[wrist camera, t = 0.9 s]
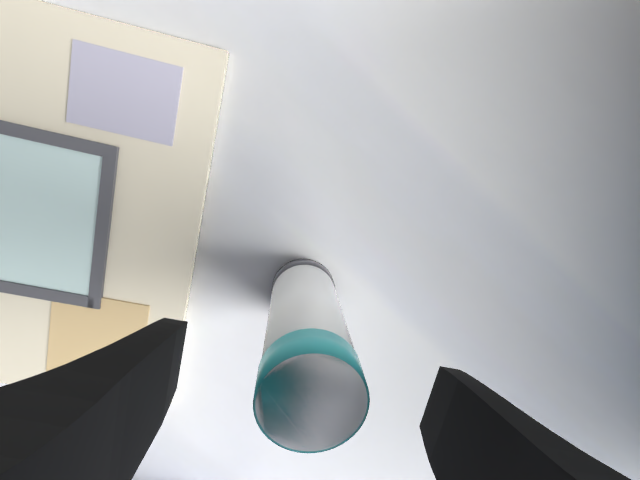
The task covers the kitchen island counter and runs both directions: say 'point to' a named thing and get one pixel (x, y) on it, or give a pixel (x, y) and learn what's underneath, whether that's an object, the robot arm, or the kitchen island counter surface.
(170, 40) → the sheet
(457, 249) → the kitchen island counter surface
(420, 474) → the kitchen island counter surface
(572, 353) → the kitchen island counter surface
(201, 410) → the kitchen island counter surface
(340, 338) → the marker
